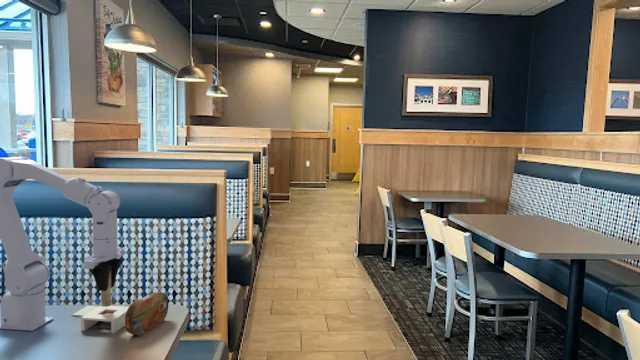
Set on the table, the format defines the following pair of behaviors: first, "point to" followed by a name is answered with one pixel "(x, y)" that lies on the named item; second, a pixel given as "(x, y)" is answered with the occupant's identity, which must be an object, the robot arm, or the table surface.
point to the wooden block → (106, 294)
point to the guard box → (105, 318)
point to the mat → (85, 311)
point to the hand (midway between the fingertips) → (106, 288)
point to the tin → (146, 313)
